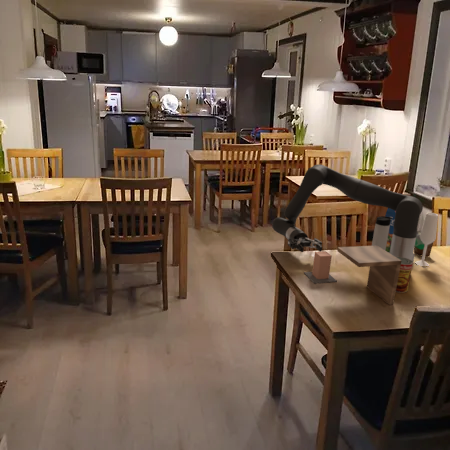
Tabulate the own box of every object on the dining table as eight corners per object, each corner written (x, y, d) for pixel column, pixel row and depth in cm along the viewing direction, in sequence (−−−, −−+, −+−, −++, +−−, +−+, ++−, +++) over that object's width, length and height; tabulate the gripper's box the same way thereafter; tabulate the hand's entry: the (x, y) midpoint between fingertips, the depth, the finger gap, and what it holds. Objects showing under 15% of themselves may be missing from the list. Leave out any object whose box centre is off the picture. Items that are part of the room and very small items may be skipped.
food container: (406, 248, 227) (410, 229, 224) (418, 248, 228) (422, 229, 225) (418, 257, 216) (422, 238, 213) (430, 258, 216) (435, 238, 213)
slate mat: (325, 271, 193) (325, 270, 193) (336, 281, 184) (337, 280, 183) (303, 273, 190) (303, 272, 190) (314, 283, 181) (314, 282, 181)
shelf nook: (369, 286, 181) (376, 245, 176) (393, 304, 167) (401, 260, 162) (331, 289, 177) (337, 247, 171) (352, 308, 162) (359, 263, 157)
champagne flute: (412, 264, 207) (422, 214, 199) (415, 260, 212) (425, 211, 205) (428, 268, 203) (439, 217, 196) (431, 263, 209) (441, 214, 201)
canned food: (387, 290, 178) (392, 262, 175) (386, 282, 186) (391, 255, 182) (408, 294, 177) (414, 265, 173) (406, 285, 184) (411, 258, 180)
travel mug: (386, 260, 209) (393, 219, 203) (372, 259, 209) (379, 218, 203) (382, 255, 215) (389, 215, 209) (368, 254, 215) (375, 214, 209)
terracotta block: (323, 273, 190) (325, 251, 187) (328, 278, 185) (331, 255, 182) (312, 274, 188) (314, 251, 185) (317, 279, 184) (320, 256, 181)
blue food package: (384, 247, 227) (392, 198, 220) (408, 253, 220) (417, 204, 212) (379, 250, 223) (387, 200, 215) (403, 257, 215) (412, 206, 208)
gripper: (282, 229, 205) (297, 242, 190) (311, 228, 209) (328, 240, 194) (281, 245, 207) (295, 258, 192) (309, 243, 211) (326, 257, 196)
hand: (312, 249), depth 193 cm, fingers open, 8 cm apart
